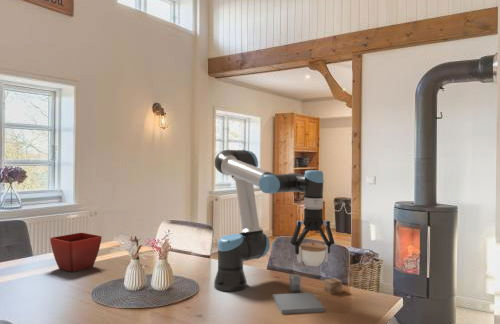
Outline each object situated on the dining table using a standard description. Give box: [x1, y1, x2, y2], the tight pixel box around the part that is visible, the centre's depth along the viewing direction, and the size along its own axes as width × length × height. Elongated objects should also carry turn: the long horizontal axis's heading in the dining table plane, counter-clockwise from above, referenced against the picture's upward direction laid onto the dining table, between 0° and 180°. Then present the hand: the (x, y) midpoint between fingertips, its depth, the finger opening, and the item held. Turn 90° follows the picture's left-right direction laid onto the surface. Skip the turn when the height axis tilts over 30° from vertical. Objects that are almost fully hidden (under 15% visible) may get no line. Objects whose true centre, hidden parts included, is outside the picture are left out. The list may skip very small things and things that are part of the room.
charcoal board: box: [272, 292, 325, 315], centre depth 156 cm, size 17×17×2 cm
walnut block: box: [323, 278, 343, 295], centre depth 172 cm, size 6×5×5 cm
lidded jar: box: [300, 241, 326, 267], centre depth 158 cm, size 11×11×9 cm
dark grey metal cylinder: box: [289, 273, 302, 294], centre depth 172 cm, size 5×5×7 cm
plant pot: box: [49, 232, 102, 273], centre depth 208 cm, size 19×19×17 cm
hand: (312, 261), depth 158 cm, fingers closed on lidded jar, 11 cm apart
